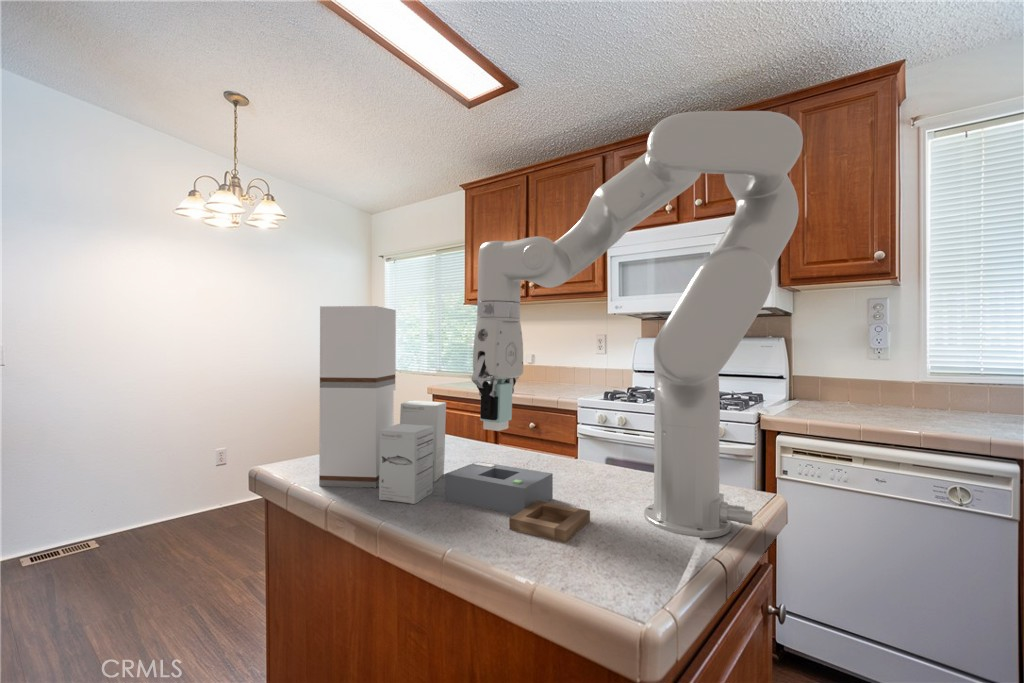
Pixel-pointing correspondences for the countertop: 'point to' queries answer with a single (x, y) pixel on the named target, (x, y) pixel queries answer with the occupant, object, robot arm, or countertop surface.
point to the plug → (501, 407)
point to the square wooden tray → (550, 521)
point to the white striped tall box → (355, 392)
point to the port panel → (498, 487)
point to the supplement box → (406, 463)
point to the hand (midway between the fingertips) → (496, 416)
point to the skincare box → (428, 416)
